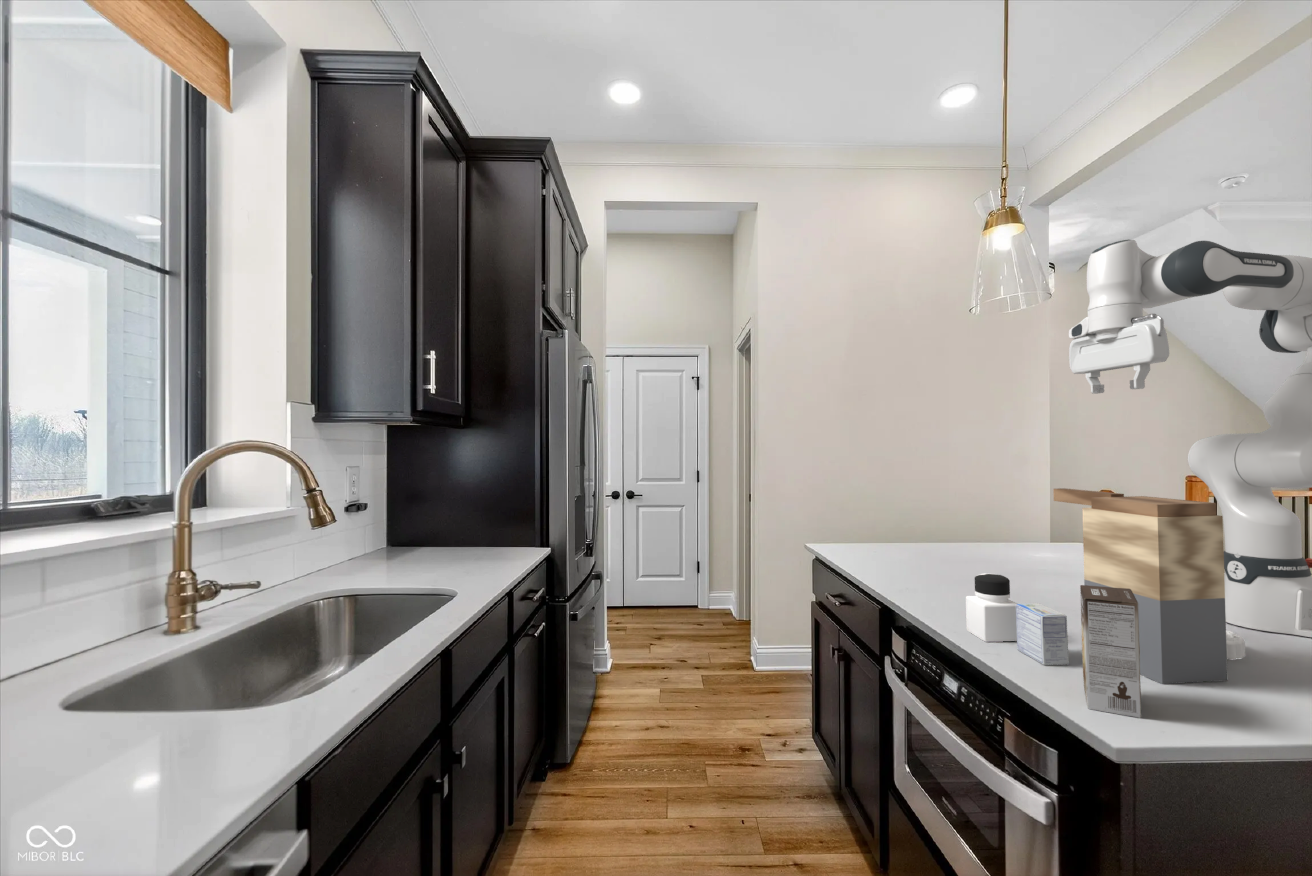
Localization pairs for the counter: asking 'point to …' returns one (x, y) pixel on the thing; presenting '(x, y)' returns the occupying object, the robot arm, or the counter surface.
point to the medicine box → (1042, 633)
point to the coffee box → (1111, 650)
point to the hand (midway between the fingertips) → (1116, 391)
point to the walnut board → (1135, 503)
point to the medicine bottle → (991, 609)
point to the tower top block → (1155, 554)
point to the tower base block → (1181, 639)
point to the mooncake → (1234, 645)
